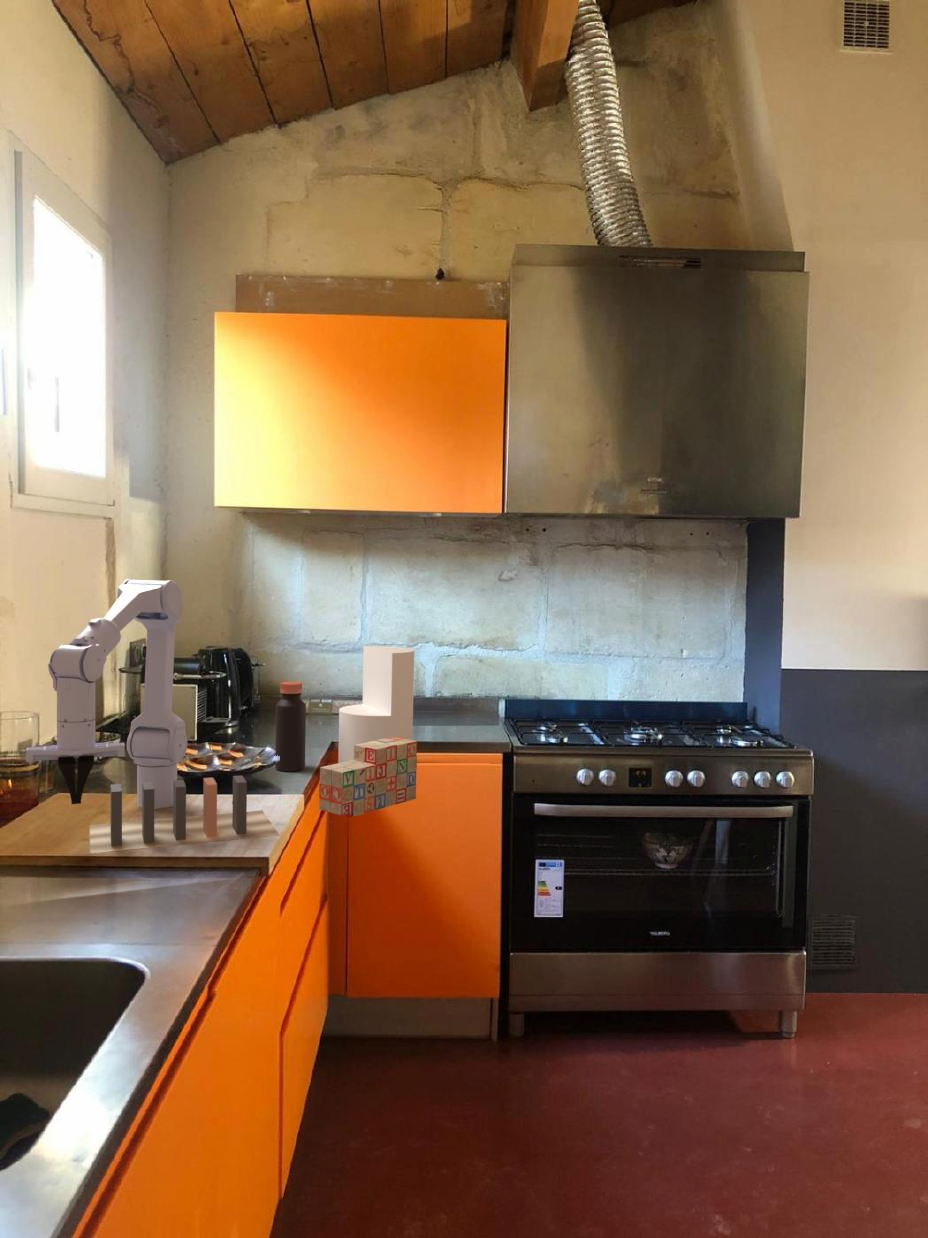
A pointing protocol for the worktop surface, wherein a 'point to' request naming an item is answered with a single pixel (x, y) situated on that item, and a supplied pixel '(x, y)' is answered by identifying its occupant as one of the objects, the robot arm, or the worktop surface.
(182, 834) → the domino
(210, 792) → the domino
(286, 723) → the bottle
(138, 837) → the birch board
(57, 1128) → the worktop surface
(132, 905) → the worktop surface
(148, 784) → the domino
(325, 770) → the stack of blocks
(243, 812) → the end domino
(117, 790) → the domino
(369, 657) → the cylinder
